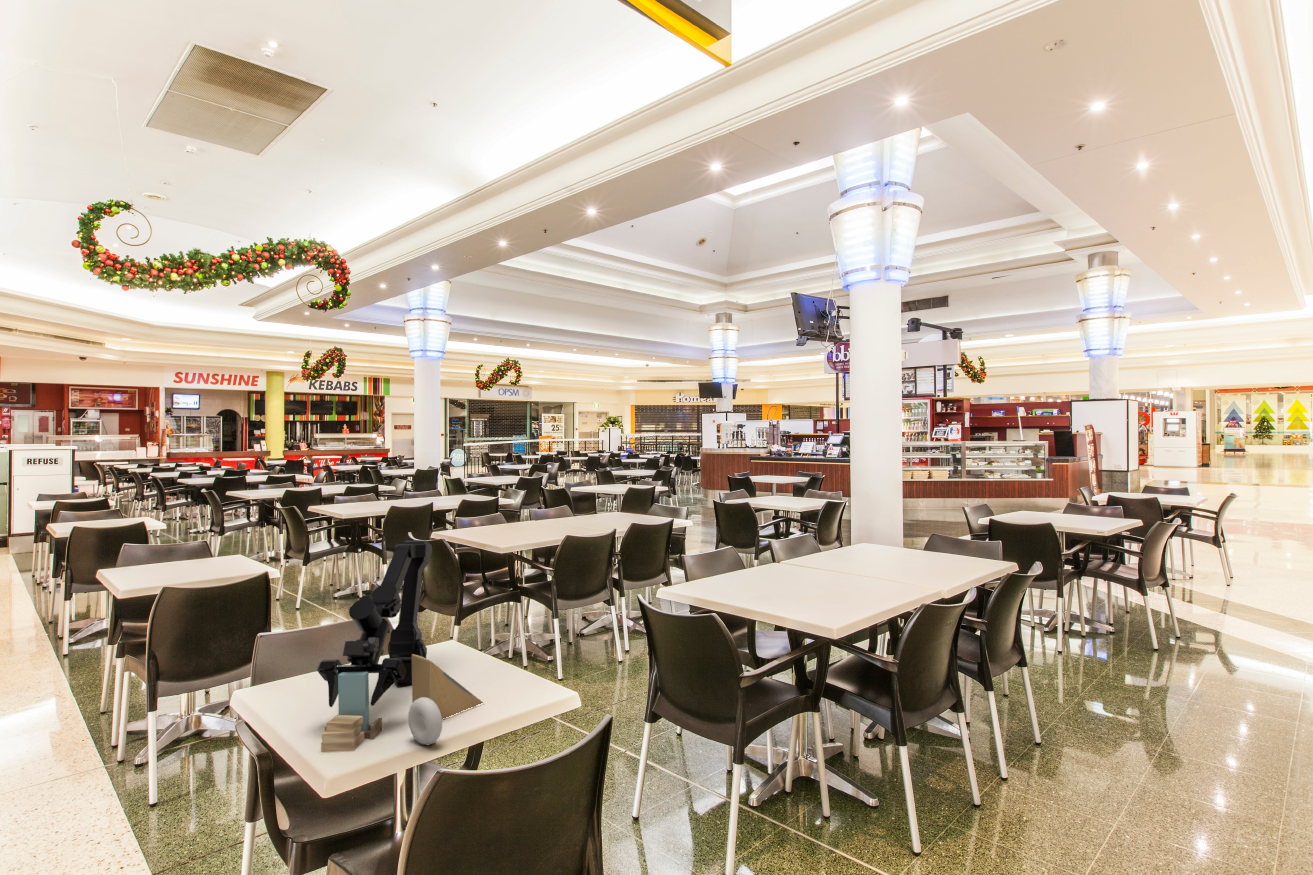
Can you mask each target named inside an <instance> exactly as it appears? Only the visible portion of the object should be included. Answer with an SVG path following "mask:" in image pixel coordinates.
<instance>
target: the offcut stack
mask: <svg viewBox="0 0 1313 875" xmlns="http://www.w3.org/2000/svg"><path fill="white" fill-rule="evenodd" d="M361 725H363V716H351V715H339V714H337V715H336V716H334V717H333V718H331V719H330V720H328V721H327V722H326V724H325V727H326V730H325V729H324V731H323V733H322V734H321V743H320V744H321V746H320V748H321V750H320V752H321V753H325V752H355V750H357V749H358V747H359V746H360V745H361V744H363V742H365V739H364V732H361Z"/></svg>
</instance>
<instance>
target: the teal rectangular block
mask: <svg viewBox="0 0 1313 875" xmlns="http://www.w3.org/2000/svg"><path fill="white" fill-rule="evenodd" d="M369 674H370V673H368V672H342V673H341V674H339V675H338V696H337V699H338V701H337V702H338V703H337V704H338V705H337V706H338V715H351V716H363V725H361V731H369V725H370V702H369V701H370V697H369V696H370V686H369V685H370V684H369V683H370V682H369V680H370V679H369V676H370V675H369Z"/></svg>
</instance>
